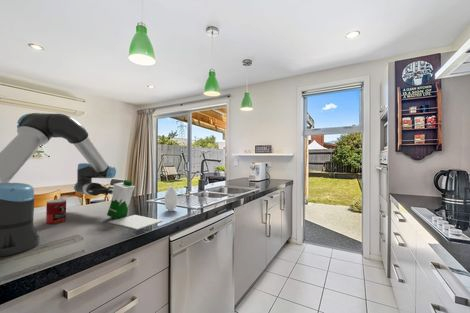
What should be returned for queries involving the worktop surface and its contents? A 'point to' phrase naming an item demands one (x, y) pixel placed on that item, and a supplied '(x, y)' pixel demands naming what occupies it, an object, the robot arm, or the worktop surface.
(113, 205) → the soya milk
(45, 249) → the worktop surface
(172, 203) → the sauce bottle
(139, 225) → the mat
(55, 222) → the canned food
